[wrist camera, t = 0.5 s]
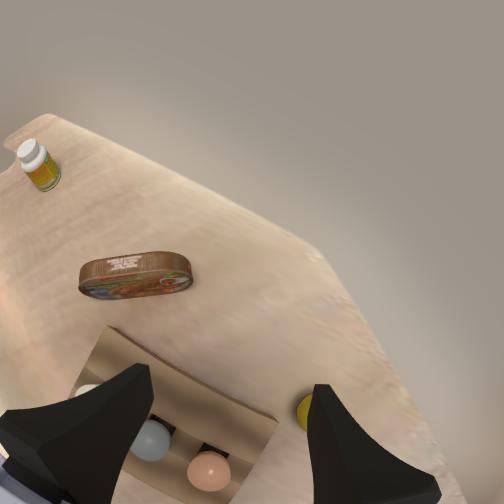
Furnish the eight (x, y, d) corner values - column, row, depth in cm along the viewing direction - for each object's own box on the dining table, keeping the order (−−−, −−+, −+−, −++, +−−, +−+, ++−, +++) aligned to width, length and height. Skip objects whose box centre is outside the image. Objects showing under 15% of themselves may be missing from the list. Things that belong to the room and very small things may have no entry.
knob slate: (166, 454, 27) (157, 468, 22) (134, 435, 27) (120, 445, 23) (182, 427, 29) (175, 437, 24) (149, 407, 29) (137, 415, 24)
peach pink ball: (219, 479, 26) (218, 497, 22) (185, 464, 27) (180, 480, 22) (235, 453, 28) (238, 467, 23) (202, 437, 28) (198, 450, 24)
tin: (93, 302, 36) (66, 286, 29) (93, 280, 37) (67, 261, 30) (196, 290, 39) (189, 272, 31) (193, 268, 40) (187, 245, 32)
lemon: (285, 398, 35) (301, 407, 27) (323, 383, 36) (347, 387, 28) (297, 433, 33) (315, 449, 25) (334, 418, 34) (359, 429, 26)
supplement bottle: (63, 182, 43) (40, 148, 34) (40, 197, 41) (14, 166, 32) (58, 163, 44) (37, 129, 35) (36, 177, 42) (13, 146, 33)
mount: (218, 506, 28) (218, 521, 23) (69, 417, 30) (53, 422, 25) (274, 417, 33) (281, 424, 29) (116, 328, 35) (103, 323, 31)
